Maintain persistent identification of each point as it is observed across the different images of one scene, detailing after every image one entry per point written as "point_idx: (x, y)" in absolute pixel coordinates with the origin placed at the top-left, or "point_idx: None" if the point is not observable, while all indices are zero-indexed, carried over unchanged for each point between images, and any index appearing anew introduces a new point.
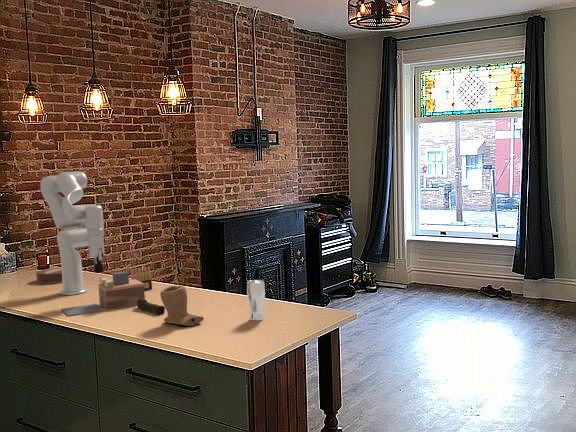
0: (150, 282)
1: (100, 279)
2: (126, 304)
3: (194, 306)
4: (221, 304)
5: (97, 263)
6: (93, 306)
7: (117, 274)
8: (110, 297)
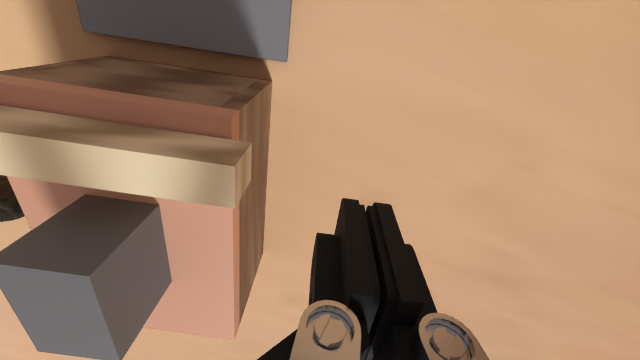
0: None
1: (203, 155)
2: None
3: (5, 306)
4: (3, 350)
5: (294, 332)
6: (210, 12)
7: (2, 277)
8: None
